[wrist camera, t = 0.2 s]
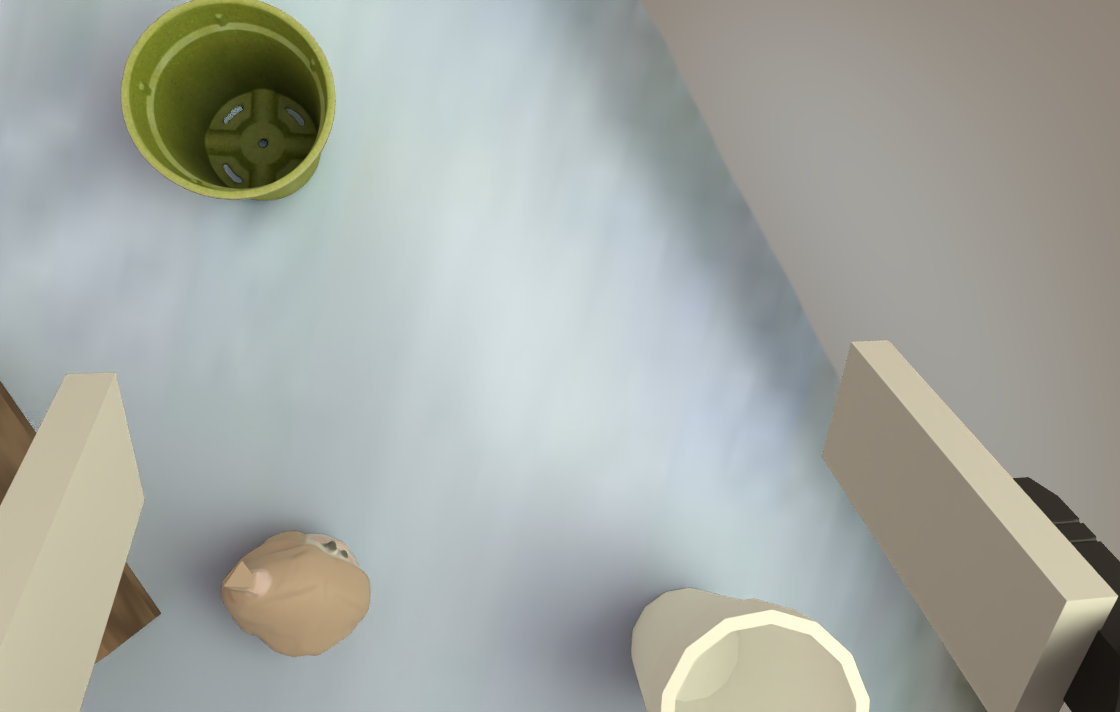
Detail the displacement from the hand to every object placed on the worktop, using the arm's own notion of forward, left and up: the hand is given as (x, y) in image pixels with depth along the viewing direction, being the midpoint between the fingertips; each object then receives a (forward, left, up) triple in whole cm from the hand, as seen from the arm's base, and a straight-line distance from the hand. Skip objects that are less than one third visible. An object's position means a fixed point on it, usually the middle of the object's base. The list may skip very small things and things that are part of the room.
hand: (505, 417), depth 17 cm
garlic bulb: (-3, +12, -35) cm, 38 cm away
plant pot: (+18, +1, -35) cm, 40 cm away
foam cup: (-18, -3, -35) cm, 40 cm away
